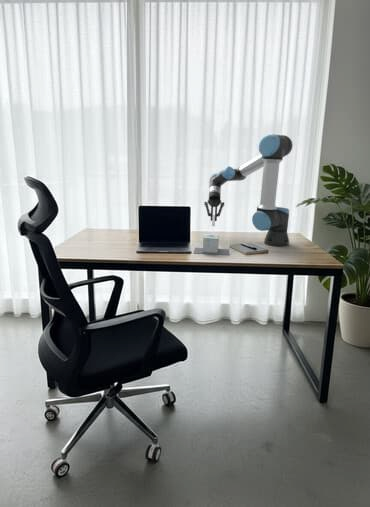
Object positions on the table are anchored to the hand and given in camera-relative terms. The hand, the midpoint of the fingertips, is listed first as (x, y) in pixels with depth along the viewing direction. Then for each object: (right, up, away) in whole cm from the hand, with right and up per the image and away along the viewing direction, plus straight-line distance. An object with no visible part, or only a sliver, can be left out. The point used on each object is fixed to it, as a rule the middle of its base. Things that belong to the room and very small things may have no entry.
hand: (213, 224), depth 226 cm
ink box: (-2, -10, -11) cm, 15 cm away
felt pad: (-2, -16, -16) cm, 23 cm away
